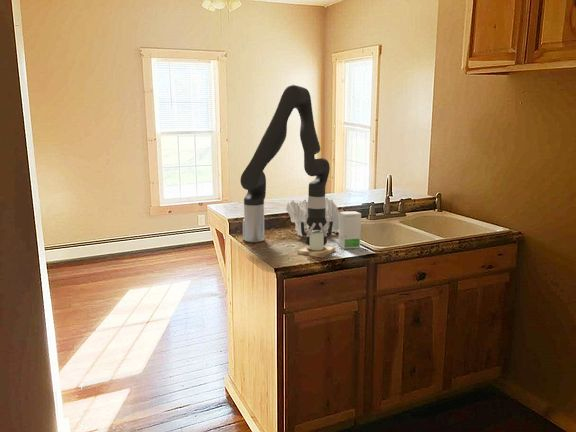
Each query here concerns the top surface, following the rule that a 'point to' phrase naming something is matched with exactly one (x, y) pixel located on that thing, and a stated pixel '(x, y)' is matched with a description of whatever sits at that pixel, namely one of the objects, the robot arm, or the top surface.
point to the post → (316, 251)
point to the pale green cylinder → (316, 240)
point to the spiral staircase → (301, 214)
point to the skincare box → (349, 229)
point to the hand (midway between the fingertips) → (316, 244)
